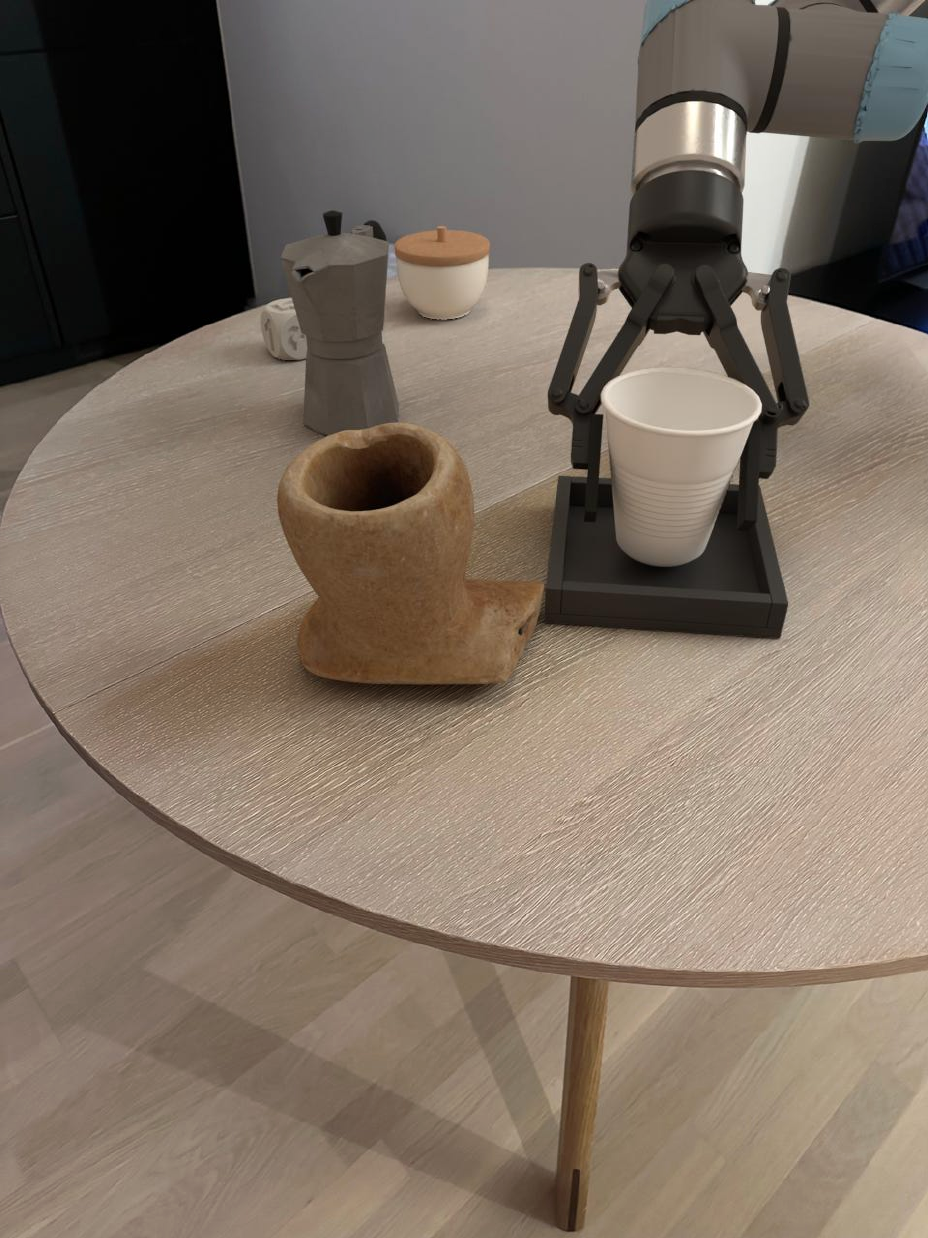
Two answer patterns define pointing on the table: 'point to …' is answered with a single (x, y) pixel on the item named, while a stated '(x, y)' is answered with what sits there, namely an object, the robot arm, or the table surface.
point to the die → (283, 331)
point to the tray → (662, 574)
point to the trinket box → (442, 271)
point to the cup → (673, 457)
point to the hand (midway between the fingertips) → (667, 521)
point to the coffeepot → (343, 325)
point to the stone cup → (397, 564)
